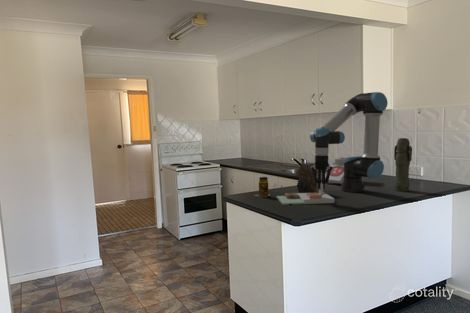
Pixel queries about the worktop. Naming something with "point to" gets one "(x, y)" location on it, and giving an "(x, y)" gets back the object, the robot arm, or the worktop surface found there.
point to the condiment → (263, 187)
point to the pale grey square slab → (325, 199)
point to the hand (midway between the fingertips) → (321, 194)
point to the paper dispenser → (337, 171)
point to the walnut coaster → (291, 195)
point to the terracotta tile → (314, 195)
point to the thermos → (402, 164)
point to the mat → (289, 200)
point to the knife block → (306, 178)
